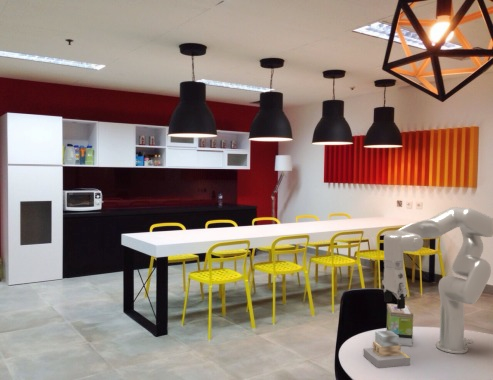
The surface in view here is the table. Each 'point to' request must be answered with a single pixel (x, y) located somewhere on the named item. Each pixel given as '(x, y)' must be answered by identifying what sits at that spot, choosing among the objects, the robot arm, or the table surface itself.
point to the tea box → (400, 323)
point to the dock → (386, 359)
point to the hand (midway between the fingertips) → (394, 305)
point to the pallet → (388, 352)
